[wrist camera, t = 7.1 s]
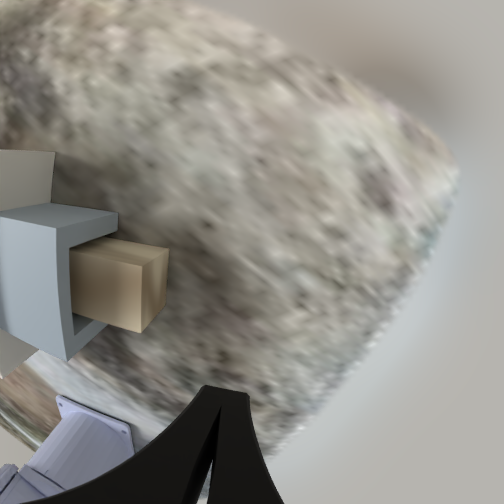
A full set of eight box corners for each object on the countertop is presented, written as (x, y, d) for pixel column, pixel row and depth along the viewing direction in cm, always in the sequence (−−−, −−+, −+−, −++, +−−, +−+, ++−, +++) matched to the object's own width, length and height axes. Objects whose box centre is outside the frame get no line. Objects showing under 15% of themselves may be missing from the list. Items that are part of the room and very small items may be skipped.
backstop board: (56, 335, 19) (2, 379, 13) (43, 329, 19) (-11, 369, 13) (55, 152, 16) (-22, 149, 9) (40, 151, 16) (-34, 150, 9)
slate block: (115, 317, 18) (67, 361, 12) (51, 296, 18) (-1, 327, 13) (118, 212, 17) (56, 228, 11) (49, 202, 17) (-13, 213, 11)
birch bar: (166, 304, 18) (140, 333, 14) (66, 278, 18) (31, 297, 14) (170, 248, 17) (142, 266, 13) (66, 228, 17) (27, 240, 14)
